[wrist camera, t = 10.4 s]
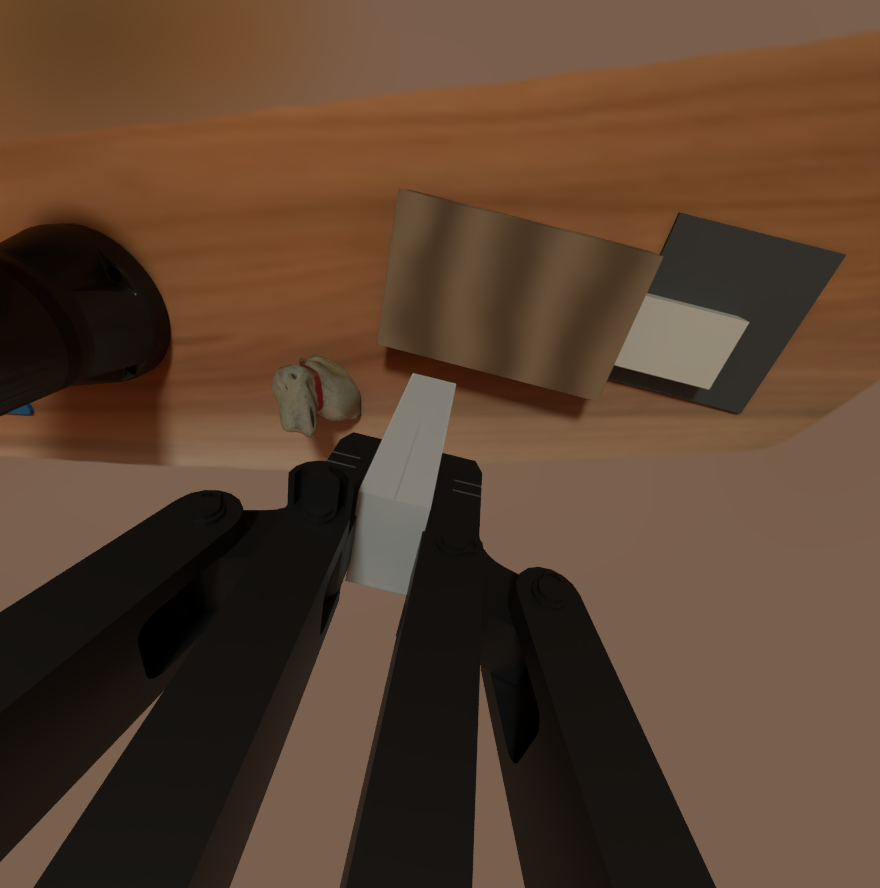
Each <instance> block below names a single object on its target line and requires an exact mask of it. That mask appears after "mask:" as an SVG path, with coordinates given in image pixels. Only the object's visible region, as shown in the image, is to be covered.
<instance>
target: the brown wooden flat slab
mask: <svg viewBox="0 0 880 888" xmlns="http://www.w3.org/2000/svg"><path fill="white" fill-rule="evenodd" d="M662 259H663V256H661V255H658V254H656V253H653V252H650V251H647V250H644V249H640V248H636V247H632V246H628V245H624V244H620V243H616V242H612V241H608V240H604V239H600V238H597V237H593V236H589V235H585V234H581V233H577V232H573V231H569V230H565V229H561V228H557V227H553V226H550V225H546V224H542V223H538V222H534V221H530V220H526V219H522V218H518V217H514V216H510V215H506V214H502V213H499V212H495V211H491V210H487V209H483V208H479V207H475V206H471V205H467V204H463V203H459V202H455V201H452V200H448V199H444V198H440V197H436V196H432V195H428V194H424V193H420V192H416V191H412V190H405V189H399V192H398V199H397V206H396V213H395V220H394V227H393V234H392V241H391V248H390V255H389V262H388V269H387V276H386V283H385V291H384V298H383V305H382V312H381V319H380V326H379V333H378V340H377V344H378V345H382V346H386V347H390V348H394V349H397V350H401V351H405V352H409V353H413V354H417V355H420V356H424V357H428V358H432V359H436V360H440V361H443V362H447V363H451V364H455V365H459V366H463V367H467V368H470V369H474V370H478V371H482V372H486V373H490V374H493V375H497V376H501V377H505V378H509V379H513V380H516V381H520V382H524V383H528V384H532V385H536V386H540V387H543V388H547V389H551V390H555V391H559V392H563V393H566V394H570V395H574V396H578V397H582V398H586V399H590V400H593V401H598V399H599V397H600V395H601V393H602V390H603V388H604V386H605V384H606V382H607V379H608V377H609V375H610V373H611V371H612V369H613V366H614V364H615V362H616V360H617V358H618V355H619V353H620V351H621V349H622V347H623V344H624V342H625V340H626V338H627V336H628V333H629V331H630V329H631V327H632V325H633V323H634V320H635V318H636V316H637V314H638V312H639V309H640V307H641V305H642V303H643V301H644V298H645V296H646V294H647V292H648V290H649V287H650V285H651V283H652V281H653V279H654V277H655V274H656V272H657V270H658V268H659V266H660V263H661V261H662Z"/></svg>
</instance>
